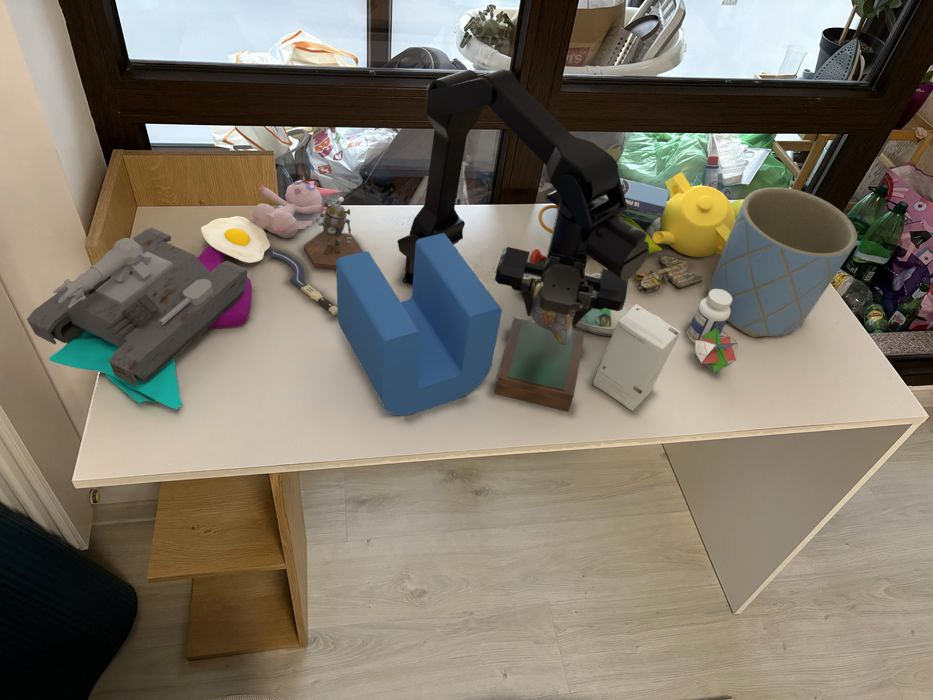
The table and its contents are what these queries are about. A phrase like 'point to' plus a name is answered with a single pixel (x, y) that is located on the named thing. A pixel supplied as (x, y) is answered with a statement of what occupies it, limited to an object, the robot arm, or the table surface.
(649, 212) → the gum box
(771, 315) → the planter
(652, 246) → the plumb bob
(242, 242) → the fried egg
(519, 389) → the framed green board
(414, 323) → the block
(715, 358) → the geometric puzzle
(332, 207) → the robot figurine
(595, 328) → the sneaker
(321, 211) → the toy
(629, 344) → the cosmetic box
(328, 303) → the decorative blade
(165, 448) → the table surface
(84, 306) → the toy
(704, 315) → the pill bottle
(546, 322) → the mug
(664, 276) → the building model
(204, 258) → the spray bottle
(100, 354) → the cloth
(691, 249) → the teapot
